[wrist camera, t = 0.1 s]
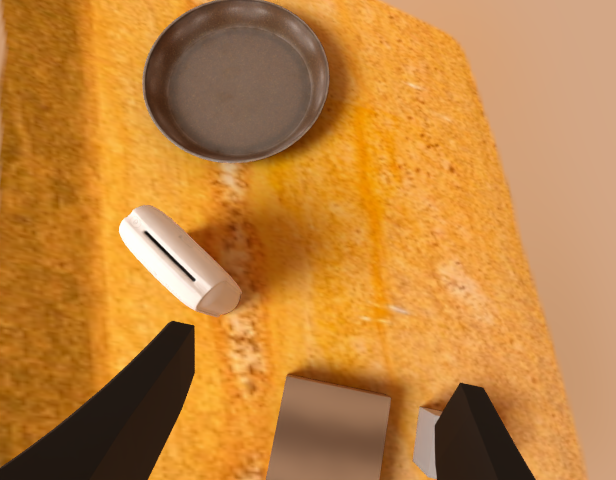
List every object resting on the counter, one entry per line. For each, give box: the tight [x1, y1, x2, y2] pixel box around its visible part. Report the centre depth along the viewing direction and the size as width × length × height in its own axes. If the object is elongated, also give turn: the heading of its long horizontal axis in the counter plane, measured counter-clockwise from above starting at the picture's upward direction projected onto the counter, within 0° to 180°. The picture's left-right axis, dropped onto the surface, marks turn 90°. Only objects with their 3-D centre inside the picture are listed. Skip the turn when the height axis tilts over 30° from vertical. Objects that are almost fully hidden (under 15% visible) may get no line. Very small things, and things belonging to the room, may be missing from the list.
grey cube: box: [413, 407, 443, 479], centre depth 39 cm, size 5×5×5 cm
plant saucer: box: [143, 0, 329, 163], centre depth 48 cm, size 21×21×3 cm
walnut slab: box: [266, 374, 391, 480], centre depth 40 cm, size 10×10×3 cm
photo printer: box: [119, 205, 242, 317], centre depth 38 cm, size 10×4×12 cm, turn 47°
